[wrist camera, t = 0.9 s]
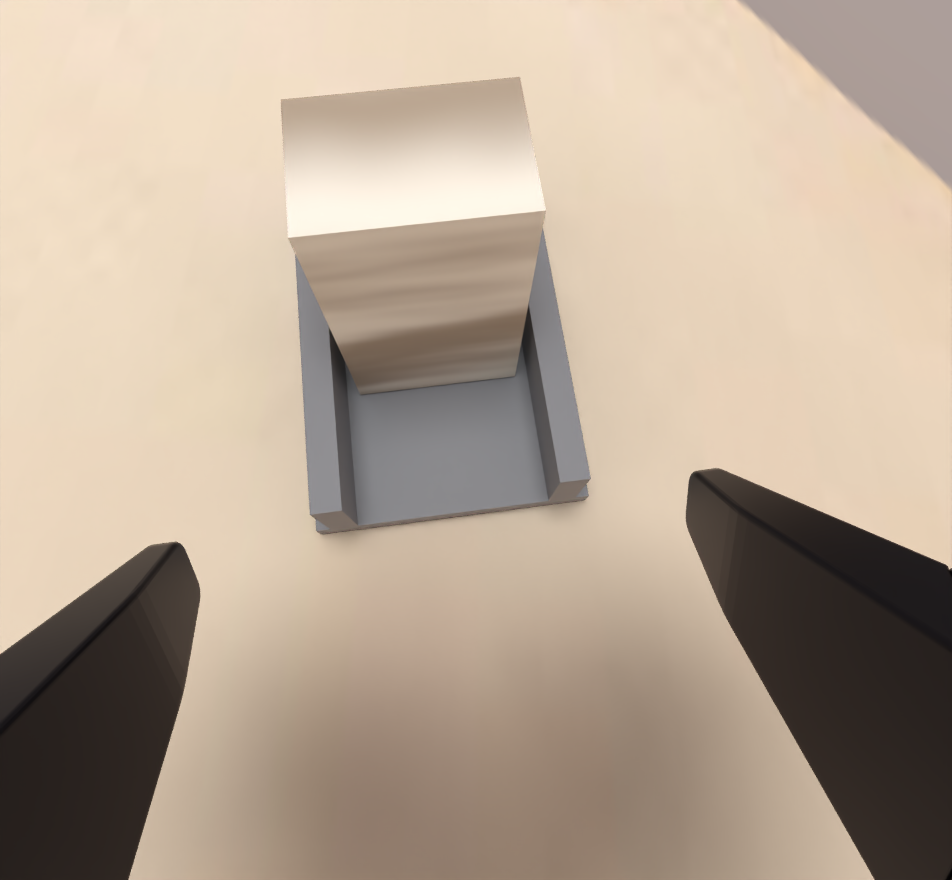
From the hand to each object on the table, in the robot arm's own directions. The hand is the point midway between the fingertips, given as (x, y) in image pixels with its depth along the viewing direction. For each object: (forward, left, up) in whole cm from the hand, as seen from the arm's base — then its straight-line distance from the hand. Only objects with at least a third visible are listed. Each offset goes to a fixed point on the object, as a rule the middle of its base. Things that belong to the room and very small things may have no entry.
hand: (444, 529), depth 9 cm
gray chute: (+9, -2, -14) cm, 17 cm away
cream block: (+9, -2, -13) cm, 16 cm away
